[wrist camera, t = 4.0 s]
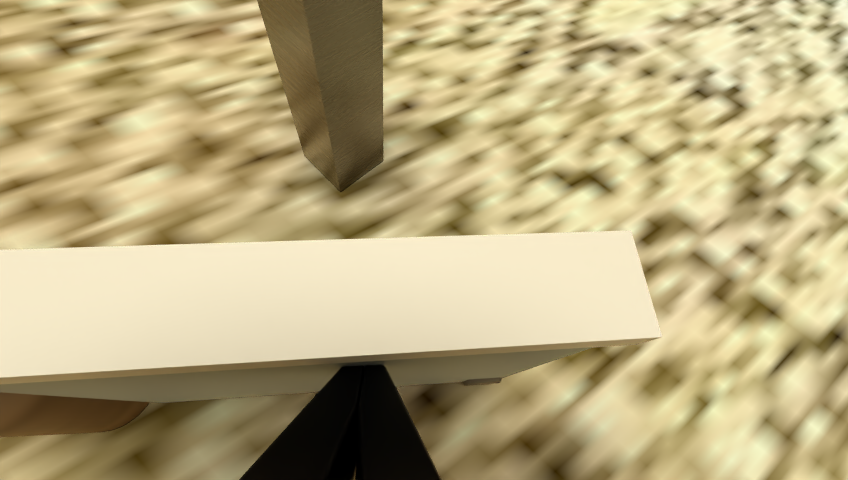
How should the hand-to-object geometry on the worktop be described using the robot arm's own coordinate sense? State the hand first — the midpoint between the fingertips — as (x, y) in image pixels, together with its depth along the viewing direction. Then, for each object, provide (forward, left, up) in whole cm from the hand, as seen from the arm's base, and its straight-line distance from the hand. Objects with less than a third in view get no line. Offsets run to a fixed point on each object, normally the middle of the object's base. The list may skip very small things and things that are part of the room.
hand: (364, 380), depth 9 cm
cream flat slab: (+1, +1, -7) cm, 7 cm away
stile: (+9, -4, -7) cm, 12 cm away
